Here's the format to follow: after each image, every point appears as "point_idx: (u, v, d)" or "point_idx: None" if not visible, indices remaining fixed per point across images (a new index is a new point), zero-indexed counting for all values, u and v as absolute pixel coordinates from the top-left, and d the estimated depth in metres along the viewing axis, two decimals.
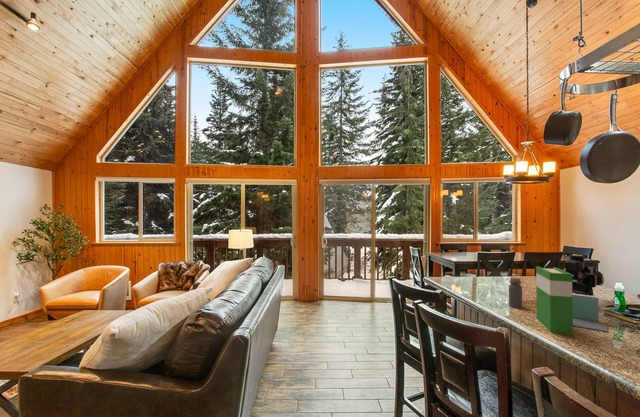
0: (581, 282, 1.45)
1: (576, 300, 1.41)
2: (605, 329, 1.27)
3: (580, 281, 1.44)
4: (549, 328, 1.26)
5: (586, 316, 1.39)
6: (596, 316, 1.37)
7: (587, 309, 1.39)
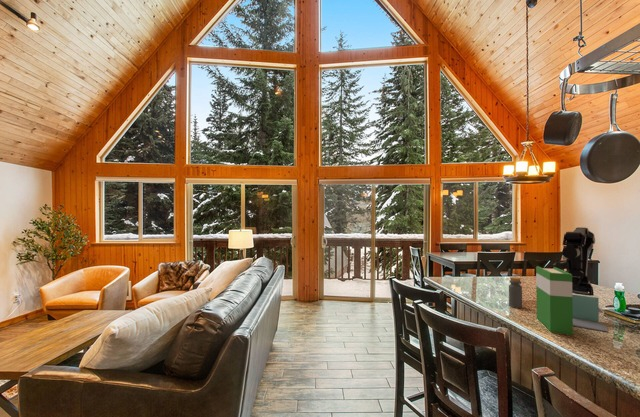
0: (576, 286, 1.49)
1: (576, 300, 1.41)
2: (605, 329, 1.27)
3: (574, 287, 1.50)
4: (549, 328, 1.26)
5: (586, 316, 1.39)
6: (596, 316, 1.37)
7: (587, 309, 1.39)
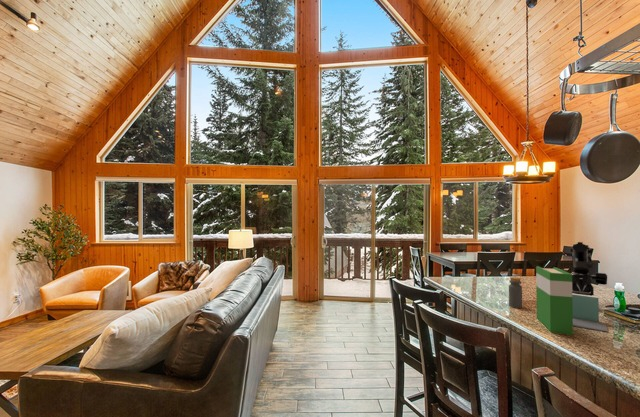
0: (584, 288, 1.48)
1: (576, 300, 1.41)
2: (605, 329, 1.27)
3: (583, 288, 1.48)
4: (549, 328, 1.26)
5: (586, 316, 1.39)
6: (596, 316, 1.37)
7: (587, 309, 1.39)
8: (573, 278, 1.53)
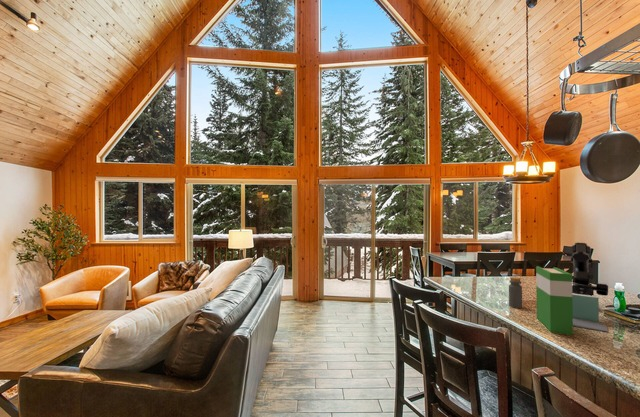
0: None
1: (576, 300, 1.41)
2: (605, 329, 1.27)
3: None
4: (549, 328, 1.26)
5: (586, 316, 1.39)
6: (596, 316, 1.37)
7: (587, 309, 1.39)
8: (573, 288, 1.49)
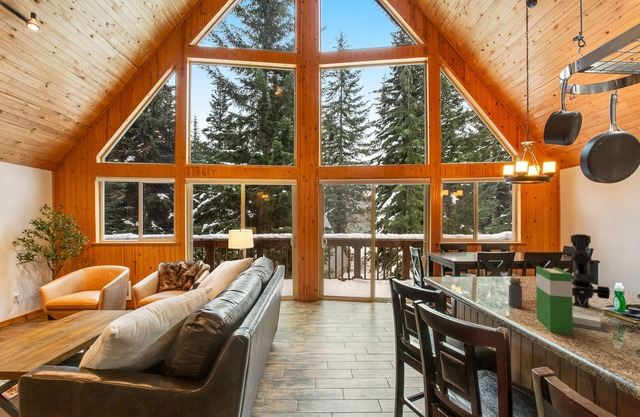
0: (585, 302, 1.40)
1: None
2: (605, 329, 1.27)
3: (584, 302, 1.39)
4: (549, 328, 1.26)
5: None
6: None
7: None
8: (573, 291, 1.44)
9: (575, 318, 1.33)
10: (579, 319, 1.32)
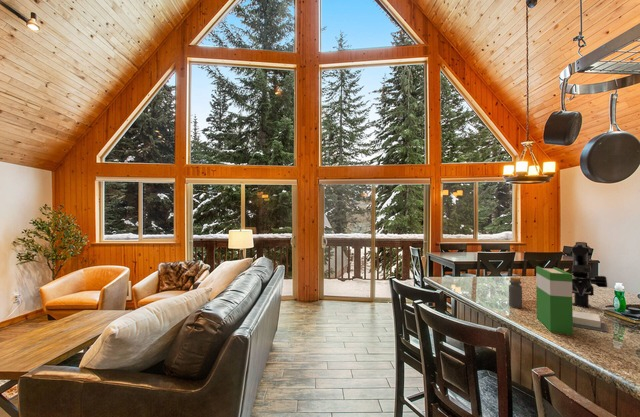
0: (583, 292, 1.47)
1: None
2: (605, 329, 1.27)
3: (583, 292, 1.46)
4: (549, 328, 1.26)
5: None
6: None
7: None
8: (572, 282, 1.51)
9: (575, 318, 1.33)
10: (579, 319, 1.32)
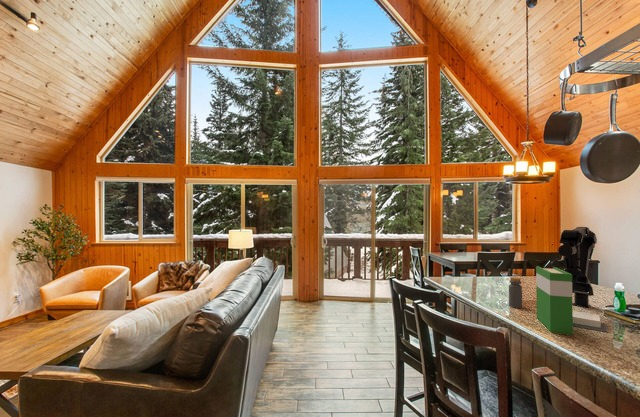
0: (573, 282, 1.53)
1: None
2: (605, 329, 1.27)
3: None
4: (549, 328, 1.26)
5: None
6: None
7: None
8: None
9: (575, 318, 1.33)
10: (579, 319, 1.32)
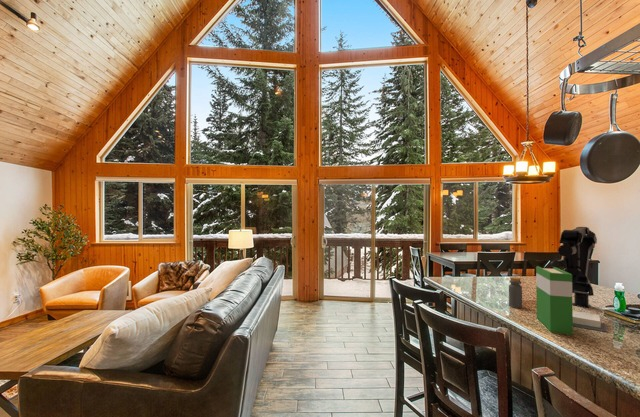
0: (573, 282, 1.53)
1: None
2: (605, 329, 1.27)
3: None
4: (549, 328, 1.26)
5: None
6: None
7: None
8: None
9: (575, 318, 1.33)
10: (579, 319, 1.32)
